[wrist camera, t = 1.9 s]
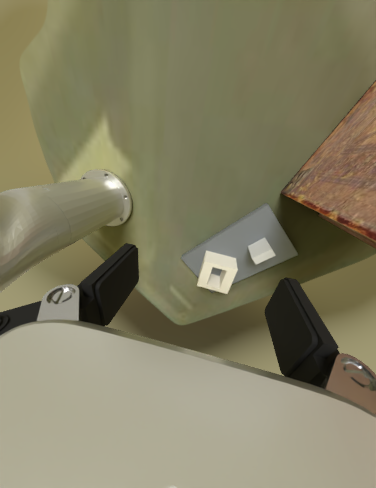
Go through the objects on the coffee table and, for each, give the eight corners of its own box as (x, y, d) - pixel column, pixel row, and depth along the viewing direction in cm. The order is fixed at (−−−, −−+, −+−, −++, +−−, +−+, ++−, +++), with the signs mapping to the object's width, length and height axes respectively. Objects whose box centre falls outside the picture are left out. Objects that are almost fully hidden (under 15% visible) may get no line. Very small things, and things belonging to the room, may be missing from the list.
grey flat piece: (211, 289, 44) (210, 308, 38) (182, 255, 40) (176, 270, 35) (295, 251, 35) (310, 268, 29) (266, 202, 31) (276, 212, 26)
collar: (226, 280, 40) (227, 294, 36) (199, 273, 40) (197, 285, 36) (235, 258, 36) (237, 269, 33) (206, 250, 37) (204, 261, 33)
